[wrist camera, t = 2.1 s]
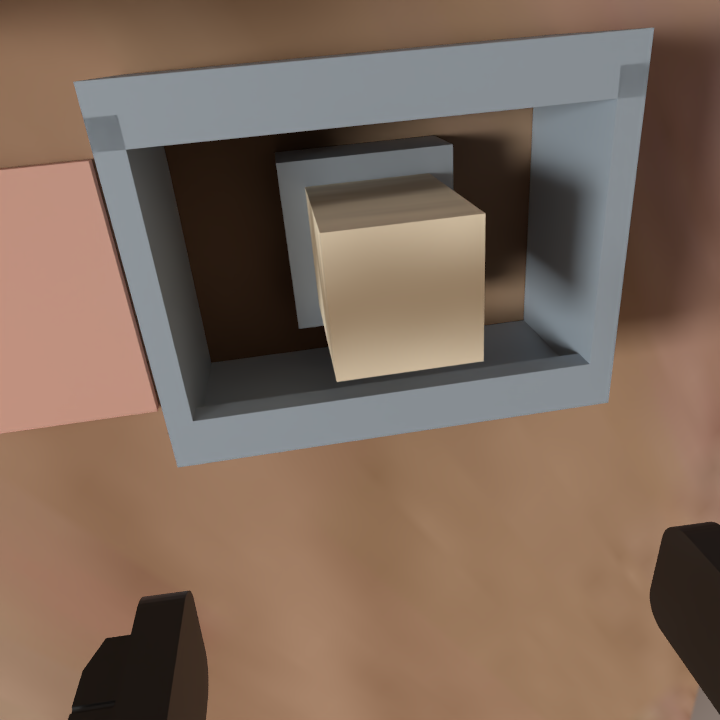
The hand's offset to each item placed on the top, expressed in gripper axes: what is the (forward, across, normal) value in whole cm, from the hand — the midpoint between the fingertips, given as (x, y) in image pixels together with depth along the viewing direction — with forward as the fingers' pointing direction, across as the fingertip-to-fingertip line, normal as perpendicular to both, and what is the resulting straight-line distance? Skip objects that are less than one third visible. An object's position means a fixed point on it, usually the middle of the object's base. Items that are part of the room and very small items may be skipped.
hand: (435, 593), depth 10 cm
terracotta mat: (+20, +14, +1) cm, 25 cm away
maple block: (+17, -2, -1) cm, 18 cm away
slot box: (+20, -2, -1) cm, 21 cm away
